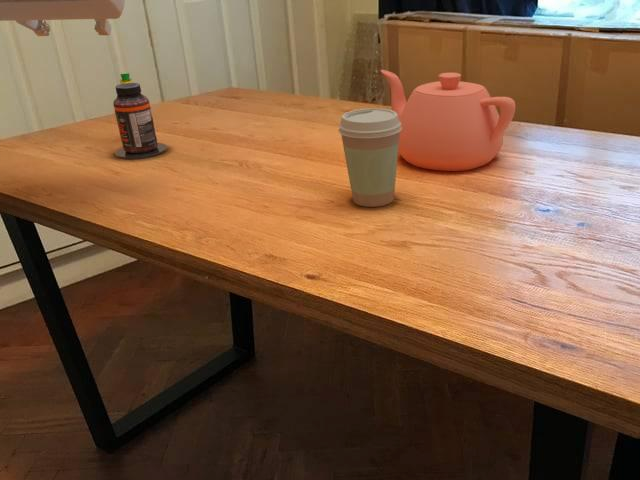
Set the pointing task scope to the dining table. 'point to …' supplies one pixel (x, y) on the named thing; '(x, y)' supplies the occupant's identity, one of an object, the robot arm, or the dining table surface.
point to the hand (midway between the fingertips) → (75, 32)
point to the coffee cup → (371, 154)
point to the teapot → (449, 123)
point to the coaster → (125, 155)
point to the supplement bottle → (134, 119)
